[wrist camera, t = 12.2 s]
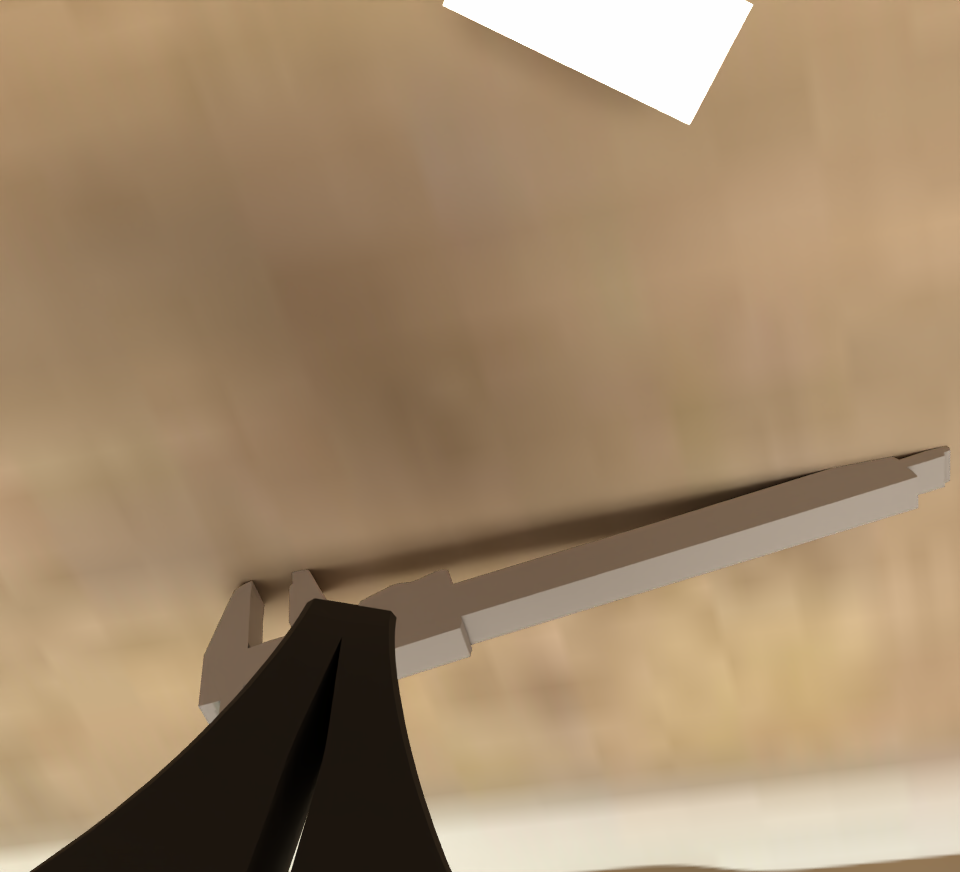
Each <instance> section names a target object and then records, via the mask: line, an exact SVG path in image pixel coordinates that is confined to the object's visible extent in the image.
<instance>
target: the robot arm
mask: <svg viewBox="0 0 960 872" xmlns="http://www.w3.org/2000/svg"><path fill="white" fill-rule="evenodd" d="M396 619H397V617H396V616H395V615H394V614H393V613H392V611H389V610H383V609H377V608H371V607H365V606H359V605H353V604H347V603H341V602H335V601H329V600H323V599H317V598H314V599H312V600H310V601H309V602H307V603H306V605H305V607H304V608H303V610H302V612H301V613H300V615H299V616H298V618H297V619H296V621H295V622H294V624H293V625H292V627H291V628H290V630H289V631H288V633H287V634H286V635H285V637H284V638H283V639H282V641H281V642H280V643H279V645H278V646H277V647H276V649H275V650H274V651H273V653H272V654H271V655H270V656H269V658H268V659H267V660H266V661H265V662H264V664H263V665H262V666H261V667H260V668H259V670H258V671H257V672H256V673H255V674H254V676H253V677H252V678H251V679H250V680H249V682H248V683H247V684H246V685H245V686H244V688H243V689H242V690H241V691H240V692H239V693H238V694H237V695H236V697H235V698H234V699H233V700H232V701H231V702H230V703H229V704H228V705H227V706H226V707H225V708H224V709H223V710H222V711H221V712H220V714H219V715H218V716H217V717H216V718H215V719H214V720H213V721H212V722H211V723H210V724H209V725H208V726H207V727H206V728H205V729H204V730H203V731H202V732H201V733H200V734H199V735H198V736H197V737H196V738H195V739H194V740H193V741H192V742H191V743H190V744H189V745H188V746H187V747H186V748H185V749H184V750H183V751H182V752H181V753H180V754H179V755H178V756H177V757H175V758H174V759H173V760H172V761H171V762H170V763H169V764H168V765H167V766H166V767H164V768H163V769H162V770H161V771H160V772H159V773H158V774H157V775H156V776H154V777H153V778H152V779H151V780H150V781H149V782H147V783H146V784H145V785H144V786H143V787H141V788H140V789H139V790H138V791H137V792H135V793H134V794H133V795H132V796H131V797H129V798H128V799H127V800H126V801H125V802H123V803H122V804H121V805H120V806H118V807H117V808H116V809H115V810H114V811H112V812H111V813H110V814H109V815H107V816H106V817H105V818H103V819H102V820H101V821H100V822H98V823H97V824H96V825H94V826H93V827H92V828H90V829H89V830H88V831H86V832H85V833H84V834H82V835H81V836H79V837H78V838H77V839H75V840H74V841H72V842H71V843H70V844H68V845H67V846H65V847H64V848H62V849H61V850H60V851H58V852H57V853H55V854H54V855H53V856H51V857H50V858H48V859H47V860H46V861H44V862H43V863H41V864H40V865H39V866H37V867H36V868H34V869H33V870H31V871H30V872H288V871H289V868H290V865H291V862H292V859H293V856H294V853H295V850H296V847H297V844H298V841H299V838H300V835H301V832H302V829H303V826H304V829H303V832H302V836H301V839H300V842H299V846H298V849H297V853H296V856H295V860H294V863H293V866H292V870H291V872H452V871H451V869H450V867H449V865H448V862H447V860H446V857H445V855H444V852H443V849H442V847H441V844H440V841H439V839H438V836H437V833H436V831H435V828H434V825H433V822H432V819H431V816H430V813H429V810H428V807H427V804H426V801H425V798H424V795H423V791H422V788H421V785H420V781H419V778H418V774H417V771H416V767H415V763H414V759H413V755H412V751H411V747H410V743H409V739H408V734H407V730H406V725H405V720H404V714H403V709H402V703H401V698H400V692H399V685H398V678H397V668H396V656H395V626H396ZM307 814H308V815H307ZM306 817H307V818H306ZM305 820H306V822H305ZM304 823H305V825H304Z"/></svg>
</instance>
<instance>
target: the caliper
mask: <svg viewBox="0 0 960 872" xmlns="http://www.w3.org/2000/svg"><path fill="white" fill-rule="evenodd" d="M948 481H950V449H949V447H939V448H935V449H931V450H927V451H924V452H921V453H918V454H915V455H912V456H909V457H906V458H903V459H900V460H898V459H896V458H895V457H893V456H892V457H887V458H882V459H877V460H872V461H866V462H861V463H856V464H851V465H846V466H840V467H835V468H830V469H827V470H824V471H821V472H817V473H814V474H811V475H808V476H804V477H801V478H798V479H795V480H792V481H788V482H785V483H782V484H779V485H775V486H772V487H769V488H766V489H763V490H759V491H756V492H753V493H750V494H746V495H743V496H740V497H737V498H733V499H730V500H727V501H724V502H721V503H717V504H714V505H711V506H708V507H704V508H701V509H698V510H695V511H691V512H688V513H685V514H682V515H679V516H675V517H672V518H669V519H666V520H662V521H659V522H656V523H653V524H649V525H646V526H643V527H640V528H636V529H633V530H630V531H626V532H623V533H620V534H616V535H613V536H610V537H607V538H603V539H600V540H597V541H593V542H590V543H587V544H583V545H580V546H577V547H574V548H570V549H567V550H564V551H560V552H557V553H554V554H550V555H547V556H544V557H541V558H537V559H534V560H531V561H527V562H524V563H521V564H517V565H514V566H511V567H508V568H504V569H501V570H498V571H494V572H491V573H488V574H484V575H481V576H478V577H475V578H471V579H468V580H465V581H461V582H458V583H455V584H453V583H452V580H451V577H450V574H449V571H448V570H446V569H442V570H438V571H435V572H433V573H431V574H429V575H427V576H425V577H423V578H421V579H418V580H415V581H413V582H407V583H399V584H394V585H391V586H389V587H387V588H385V589H383V590H381V591H380V592H378V593H376V594H374V595H372V596H370V597H368V598H366V599H364V600H362V601H360V603H359V606H365V607H371V608H377V609H383V610H389V611H392V613H393V614H394V615H395V616H396V617H397V619H396V626H395V656H396V668H397V678H398V679H401V678H404V677H407V676H411V675H414V674H417V673H420V672H423V671H426V670H430V669H433V668H436V667H439V666H442V665H445V664H448V663H452V662H455V661H458V660H461V659H464V658H467V657H470V655H471V651H472V647H471V645H472V644H475V643H479V642H482V641H485V640H489V639H492V638H495V637H498V636H502V635H505V634H508V633H512V632H515V631H518V630H521V629H525V628H528V627H531V626H535V625H538V624H541V623H544V622H548V621H551V620H554V619H557V618H561V617H564V616H567V615H571V614H574V613H577V612H580V611H584V610H587V609H590V608H594V607H597V606H600V605H603V604H607V603H610V602H613V601H617V600H620V599H623V598H626V597H630V596H633V595H636V594H640V593H643V592H646V591H649V590H653V589H656V588H659V587H663V586H666V585H669V584H672V583H676V582H679V581H682V580H686V579H689V578H692V577H695V576H699V575H702V574H705V573H708V572H712V571H715V570H718V569H722V568H725V567H728V566H731V565H735V564H738V563H741V562H745V561H748V560H751V559H754V558H758V557H761V556H764V555H767V554H771V553H774V552H777V551H780V550H784V549H787V548H790V547H793V546H797V545H800V544H803V543H806V542H810V541H813V540H816V539H819V538H823V537H826V536H829V535H832V534H836V533H839V532H842V531H845V530H848V529H852V528H855V527H858V526H861V525H865V524H868V523H871V522H874V521H878V520H881V519H884V518H887V517H891V516H894V515H897V514H900V513H904V512H907V511H910V510H913V509H917V508H918V495H920V494H923V493H926V492H930V491H933V490H936V489H939V488H942V487H945V483H946V482H948ZM292 581H293V584H291V585H290V589H289V623H290V625H291V627H292V625H293V624H294V622H295V621H296V619H297V618H298V616H299V615H300V613H301V612H302V610H303V608H304V607H305V605H306V603H307V602H309V601H310V600H312V599H314V598H317V599H323V600H326V598H325V596H324V595H323V593H322V591H321V590H320V588H319V586H318V585H317V583H316V581H315V580H314V578H313V576H312V575H311V573H310V571H309V570H307V569H306V570H301V571H296V572H292ZM263 615H264V603H263V601H262V599H261V597H260V595H259V593H258V591H257V589H256V587H255V585H254V583H253V581H250V582H248V583H246V584H243V585H242V586H240V587H239V588H238V589H236V590H235V591H234V593H233V595H232V597H231V599H230V601H229V603H228V604H227V606H226V608H225V611H224V613H223V615H222V617H221V619H220V622H219V624H218V626H217V628H216V630H215V632H214V635H213V637H212V639H211V641H210V643H209V645H208V648H207V650H206V652H205V654H204V659H203V668H202V678H201V687H200V697H199V708H200V710H201V711H202V713H203V715H204V717H205V718H206V720H207V722H208V723H209V724H210V723H211V722H212V721H213V720H214V719H215V718H216V717H217V716H218V715H219V714H220V712H221V711H222V710H223V709H224V708H225V707H226V706H227V705H228V704H229V703H230V702H231V701H232V700H233V699H234V698H235V697H236V695H237V694H238V693H239V692H240V691H241V690H242V689H243V688H244V686H245V685H246V684H247V683H248V682H249V680H250V679H251V678H252V677H253V676H254V674H255V673H256V672H257V671H258V670H259V668H260V667H261V666H262V665H263V664H264V662H265V661H266V660H267V659H268V658H269V656H270V655H271V654H272V653H273V651H274V650H275V649H276V647H277V646H278V645H279V643H280V642H281V641H282V639H283V638H284V637H285V636H284V637H280V638H277V639H274V640H270V641H267V642H264V643H262V636H263Z"/></svg>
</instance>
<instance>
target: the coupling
mask: <svg viewBox="0 0 960 872" xmlns="http://www.w3.org/2000/svg"><path fill="white" fill-rule="evenodd" d="M443 6H445V7H447V8H449V9H451V10H453V11H455V12H457V13H459V14H461V15H463V16H465V17H467V18H469V19H472V20H474V21H476V22H478V23H480V24H482V25H484V26H486V27H488V28H490V29H492V30H494V31H496V32H498V33H501V34H503V35H505V36H507V37H509V38H511V39H513V40H515V41H517V42H519V43H521V44H523V45H525V46H527V47H529V48H532V49H534V50H536V51H538V52H540V53H542V54H544V55H546V56H548V57H550V58H552V59H554V60H556V61H558V62H560V63H563V64H565V65H567V66H569V67H571V68H573V69H575V70H577V71H579V72H581V73H583V74H585V75H587V76H589V77H592V78H594V79H596V80H598V81H600V82H602V83H604V84H606V85H608V86H610V87H612V88H614V89H616V90H618V91H620V92H623V93H625V94H627V95H629V96H631V97H633V98H635V99H637V100H639V101H641V102H643V103H645V104H647V105H649V106H651V107H654V108H656V109H658V110H660V111H662V112H664V113H666V114H668V115H670V116H672V117H674V118H676V119H678V120H680V121H683V122H685V123H687V124H689V125H690V123H691V121H692V119H693V118H694V116H695V114H696V112H697V110H698V108H699V106H700V104H701V102H702V100H703V99H704V97H705V95H706V93H707V91H708V89H709V87H710V85H711V83H712V81H713V80H714V78H715V76H716V74H717V72H718V70H719V68H720V66H721V64H722V62H723V61H724V59H725V57H726V55H727V53H728V51H729V49H730V47H731V45H732V43H733V42H734V40H735V38H736V36H737V34H738V32H739V30H740V28H741V26H742V25H743V23H744V21H745V19H746V17H747V15H748V13H749V11H750V9H751V7H752V6H753V4H751V3H749V2H747V1H745V0H445V1H444V4H443Z"/></svg>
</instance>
